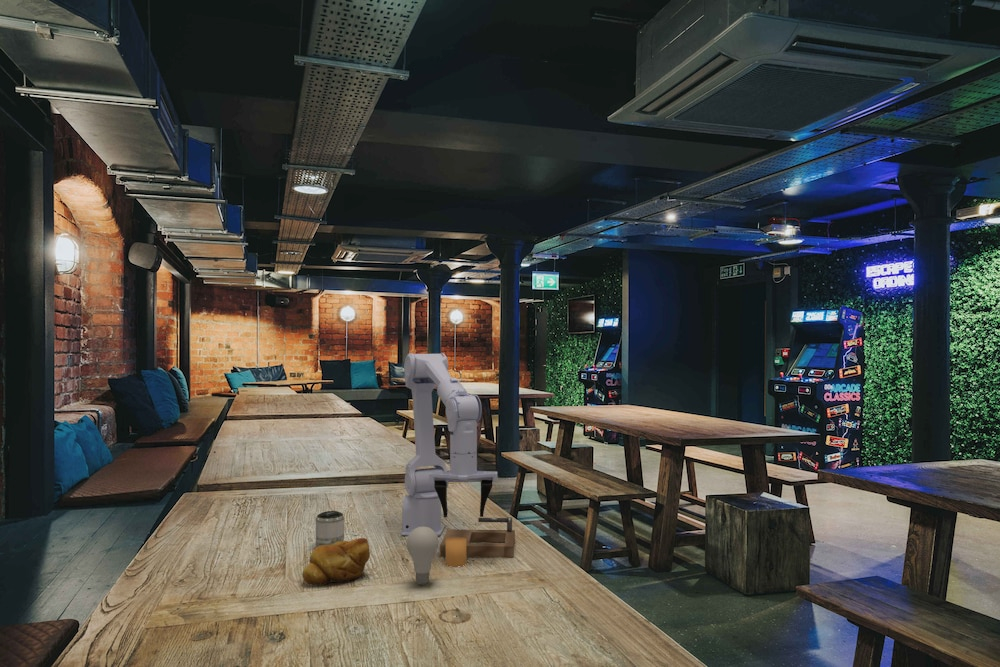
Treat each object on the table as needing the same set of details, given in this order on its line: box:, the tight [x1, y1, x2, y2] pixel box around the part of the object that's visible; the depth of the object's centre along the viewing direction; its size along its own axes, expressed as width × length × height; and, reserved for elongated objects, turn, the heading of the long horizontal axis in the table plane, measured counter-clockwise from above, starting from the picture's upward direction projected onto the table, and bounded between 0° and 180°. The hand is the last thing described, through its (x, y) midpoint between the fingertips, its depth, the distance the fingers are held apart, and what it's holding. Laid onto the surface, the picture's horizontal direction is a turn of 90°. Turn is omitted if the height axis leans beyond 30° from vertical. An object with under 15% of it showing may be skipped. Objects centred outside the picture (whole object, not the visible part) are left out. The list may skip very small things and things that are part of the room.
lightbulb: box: [406, 526, 439, 586], centre depth 119 cm, size 6×6×11 cm
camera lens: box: [315, 510, 345, 547], centre depth 141 cm, size 6×6×8 cm
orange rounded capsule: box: [445, 537, 467, 568], centre depth 130 cm, size 4×4×5 cm
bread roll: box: [302, 537, 371, 586], centre depth 122 cm, size 13×10×8 cm
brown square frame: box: [439, 528, 516, 559], centre depth 140 cm, size 16×12×2 cm
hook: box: [477, 516, 513, 532], centre depth 145 cm, size 8×1×6 cm, turn 87°
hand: (463, 515), depth 132 cm, fingers open, 7 cm apart
